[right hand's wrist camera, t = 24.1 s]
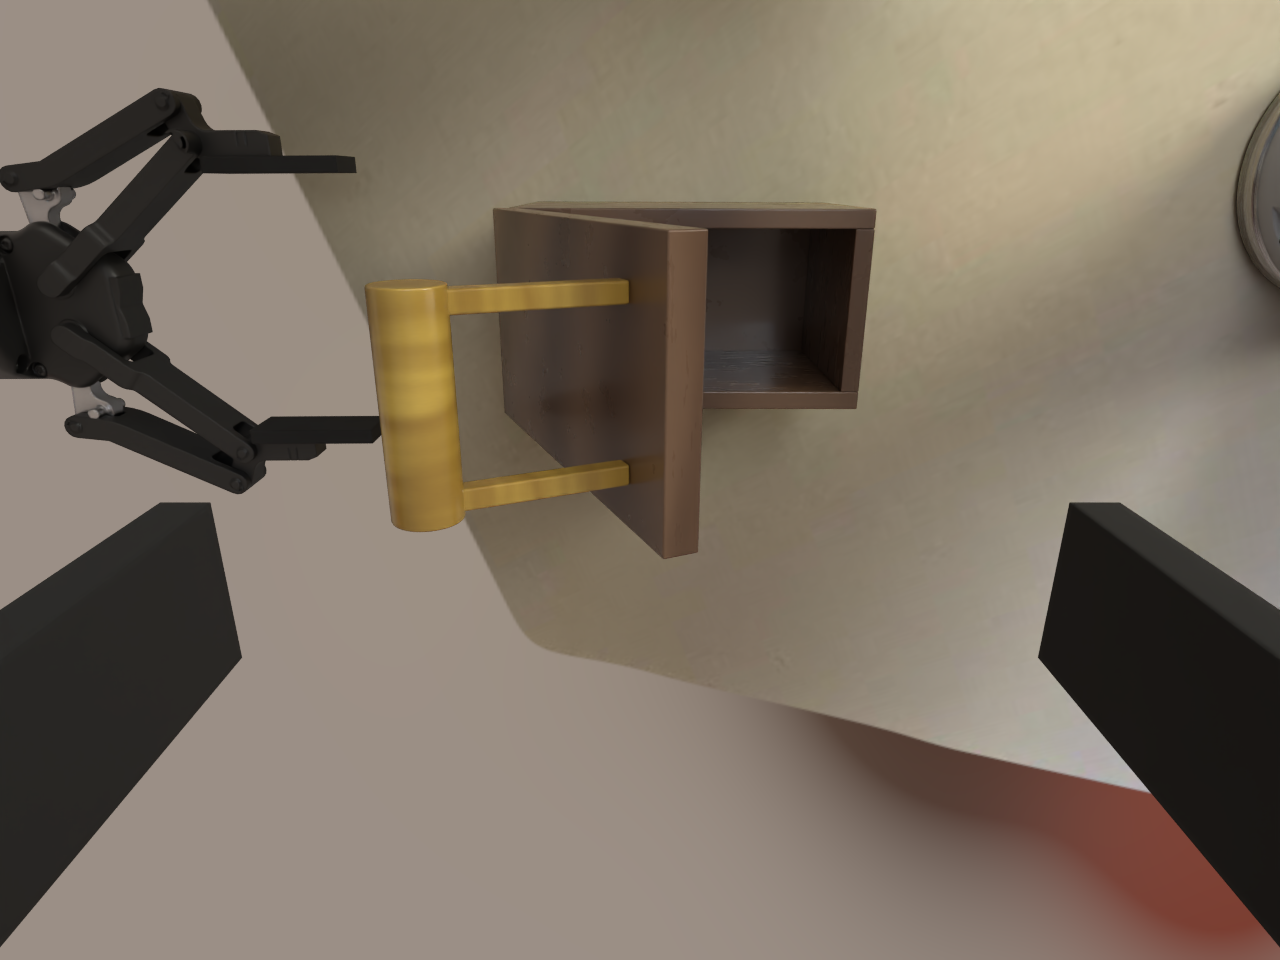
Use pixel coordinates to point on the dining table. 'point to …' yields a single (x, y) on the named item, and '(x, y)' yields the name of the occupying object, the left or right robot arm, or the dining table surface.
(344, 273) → the dining table surface
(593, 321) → the lid
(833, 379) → the chest
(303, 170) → the left robot arm
